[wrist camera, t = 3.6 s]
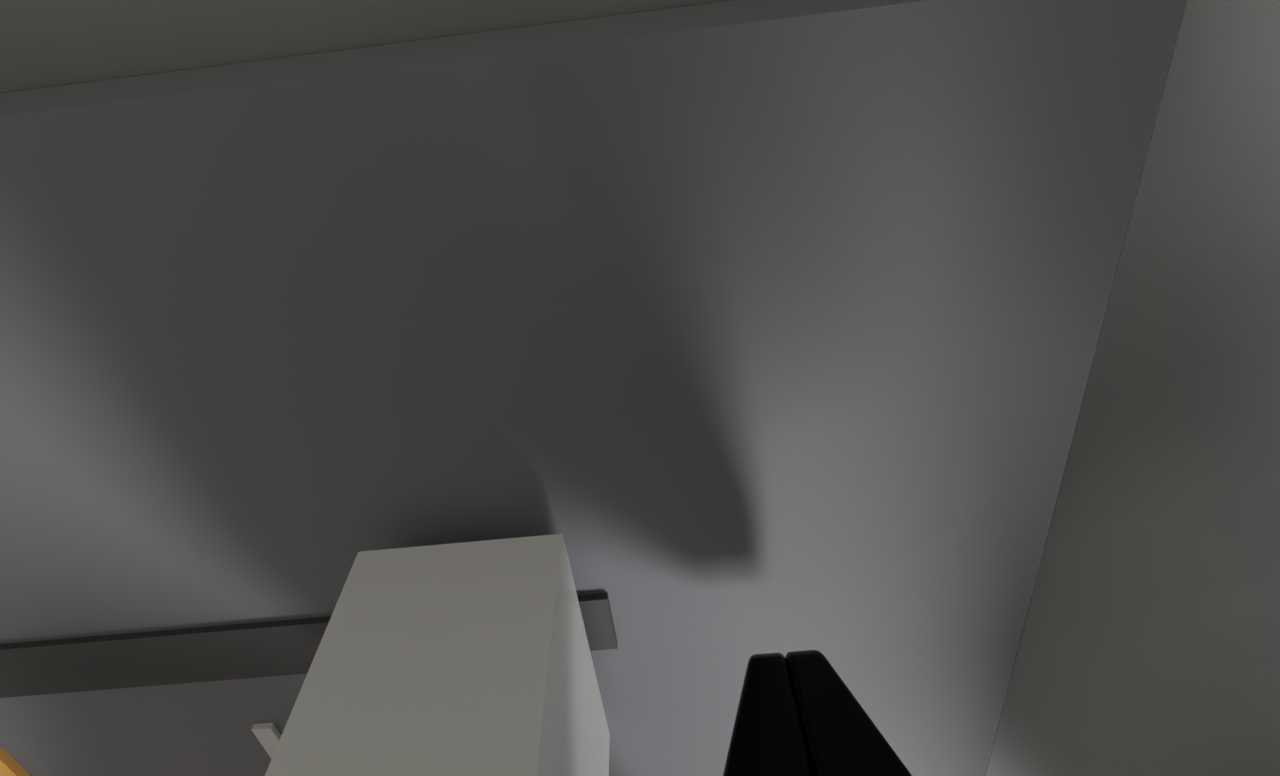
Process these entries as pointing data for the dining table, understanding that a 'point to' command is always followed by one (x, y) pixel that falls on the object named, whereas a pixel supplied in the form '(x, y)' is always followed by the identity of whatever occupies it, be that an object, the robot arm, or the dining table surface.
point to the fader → (452, 669)
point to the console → (561, 358)
